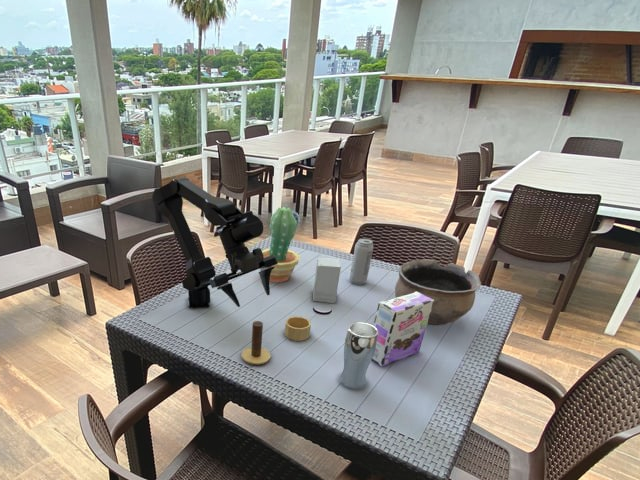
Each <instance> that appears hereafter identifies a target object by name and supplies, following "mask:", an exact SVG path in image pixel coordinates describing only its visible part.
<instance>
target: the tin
mask: <svg viewBox="0 0 640 480" xmlns="http://www.w3.org/2000/svg"><path fill="white" fill-rule="evenodd" d="M311 325H312V324H311V321H310V319H308V318H306V317H303V316H294V315H293V316H290V317H288V318H286V319H285V323H284V336H285V337H286V338H287V339H289V340H290V341H293V342H303V341H306V340H308V339H309V337H310V333H311V328H312V327H311Z"/></svg>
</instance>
